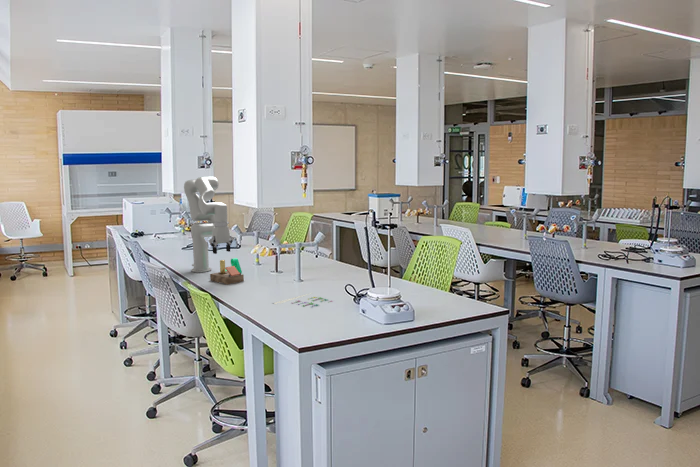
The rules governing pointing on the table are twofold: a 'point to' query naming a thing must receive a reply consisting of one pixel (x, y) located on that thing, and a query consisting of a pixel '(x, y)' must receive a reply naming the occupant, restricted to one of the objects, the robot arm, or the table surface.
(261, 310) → the table surface
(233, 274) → the orange flat plate
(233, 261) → the camera mount
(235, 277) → the hitch block
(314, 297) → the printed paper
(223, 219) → the robot arm
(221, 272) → the brass pin
